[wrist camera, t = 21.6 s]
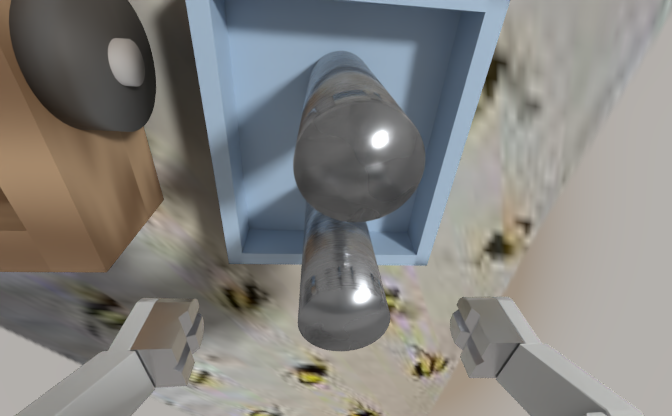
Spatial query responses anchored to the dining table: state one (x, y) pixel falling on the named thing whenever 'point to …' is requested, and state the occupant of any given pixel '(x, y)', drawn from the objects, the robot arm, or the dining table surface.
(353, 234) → the lock pin
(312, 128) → the lock pin
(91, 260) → the block
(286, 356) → the dining table surface
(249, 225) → the tray
